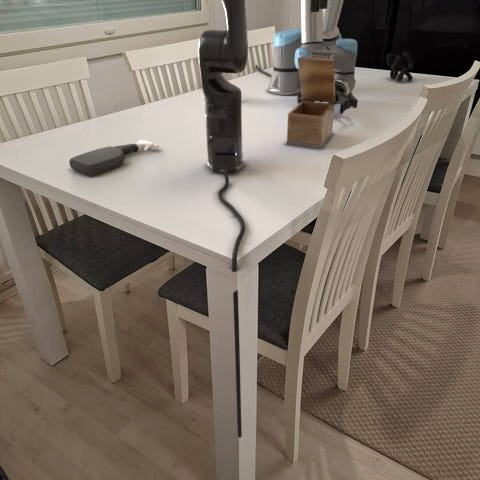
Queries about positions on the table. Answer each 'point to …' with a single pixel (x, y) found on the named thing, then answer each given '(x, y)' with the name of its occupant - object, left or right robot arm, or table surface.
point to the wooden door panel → (317, 76)
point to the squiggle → (399, 66)
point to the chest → (310, 124)
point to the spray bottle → (106, 157)
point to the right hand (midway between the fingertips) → (319, 107)
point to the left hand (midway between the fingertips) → (319, 10)
